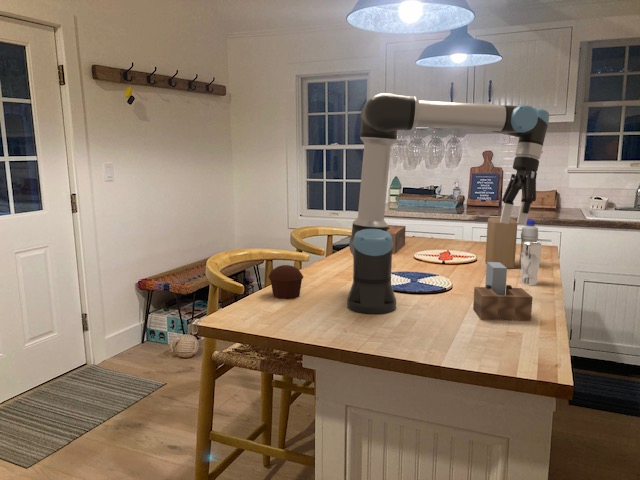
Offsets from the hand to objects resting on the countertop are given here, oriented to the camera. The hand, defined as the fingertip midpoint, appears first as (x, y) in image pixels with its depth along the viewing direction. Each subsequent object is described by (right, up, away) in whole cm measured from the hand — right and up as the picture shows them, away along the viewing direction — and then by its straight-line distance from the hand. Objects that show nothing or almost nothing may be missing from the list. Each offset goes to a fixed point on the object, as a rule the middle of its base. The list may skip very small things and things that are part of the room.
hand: (512, 223), depth 167 cm
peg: (-8, -26, -5) cm, 27 cm away
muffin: (-73, -24, +7) cm, 77 cm away
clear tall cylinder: (+14, -21, +23) cm, 35 cm away
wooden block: (+13, -16, +51) cm, 55 cm away
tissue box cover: (-29, -10, +89) cm, 95 cm away
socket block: (-8, -27, -13) cm, 31 cm away
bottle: (+24, -17, +49) cm, 58 cm away
